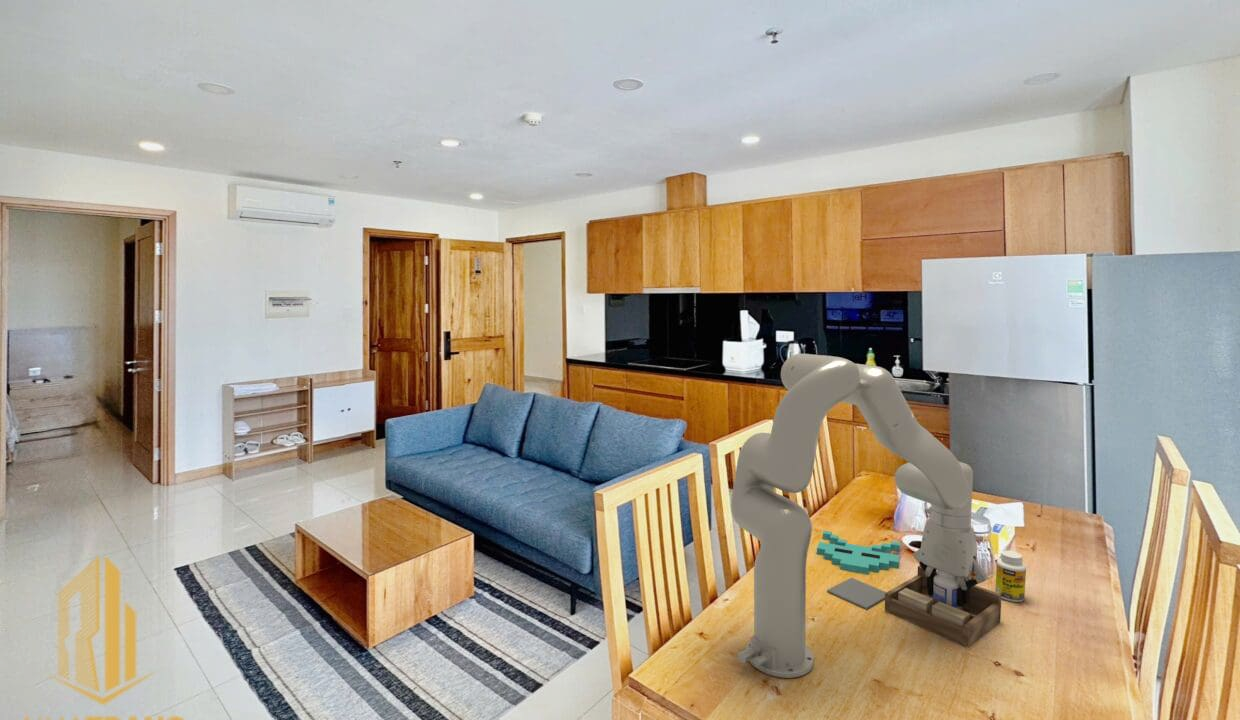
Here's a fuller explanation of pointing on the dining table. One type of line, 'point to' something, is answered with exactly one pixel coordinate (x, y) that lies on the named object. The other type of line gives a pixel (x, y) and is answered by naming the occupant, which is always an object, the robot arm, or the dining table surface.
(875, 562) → the alien figure
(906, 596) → the offcut
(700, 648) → the dining table surface
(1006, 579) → the supplement bottle
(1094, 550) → the dining table surface
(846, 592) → the rubber coaster
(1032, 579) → the dining table surface
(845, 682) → the dining table surface
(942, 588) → the pill bottle
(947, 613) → the offcut
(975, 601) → the walnut rack
